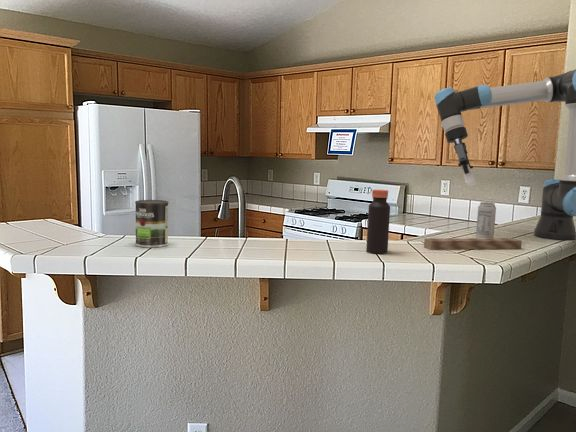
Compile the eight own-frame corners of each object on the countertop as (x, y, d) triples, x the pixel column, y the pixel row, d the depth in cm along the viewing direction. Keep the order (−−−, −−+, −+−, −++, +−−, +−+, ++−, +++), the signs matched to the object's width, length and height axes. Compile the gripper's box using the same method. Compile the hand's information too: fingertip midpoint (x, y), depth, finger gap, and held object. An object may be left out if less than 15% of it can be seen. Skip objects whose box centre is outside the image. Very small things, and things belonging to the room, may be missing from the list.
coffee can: (156, 249, 159) (156, 204, 158) (128, 245, 163) (128, 201, 161) (174, 243, 169) (174, 201, 167) (148, 240, 173) (147, 198, 171)
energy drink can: (496, 244, 186) (500, 203, 184) (486, 246, 183) (489, 204, 181) (481, 241, 191) (485, 201, 189) (471, 243, 188) (475, 202, 186)
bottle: (365, 249, 169) (368, 189, 166) (385, 250, 169) (389, 189, 166) (367, 253, 162) (370, 190, 160) (389, 254, 162) (392, 191, 159)
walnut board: (512, 246, 184) (512, 237, 183) (521, 249, 179) (521, 240, 178) (423, 247, 177) (424, 238, 176) (430, 250, 172) (431, 240, 171)
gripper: (448, 138, 203) (464, 190, 200) (440, 126, 180) (457, 184, 177) (467, 132, 200) (483, 184, 197) (462, 119, 177) (480, 177, 174)
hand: (471, 184), depth 187 cm, fingers open, 13 cm apart
